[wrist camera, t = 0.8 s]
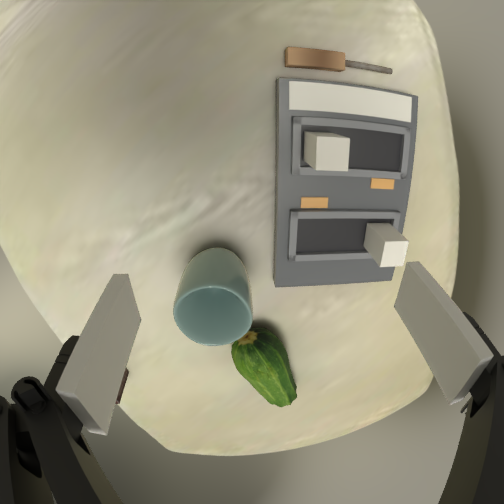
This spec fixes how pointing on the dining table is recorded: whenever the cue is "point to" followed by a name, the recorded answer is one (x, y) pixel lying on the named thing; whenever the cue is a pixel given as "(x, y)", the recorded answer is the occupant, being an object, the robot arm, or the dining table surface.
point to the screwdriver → (324, 60)
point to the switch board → (339, 179)
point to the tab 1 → (326, 151)
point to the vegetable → (265, 365)
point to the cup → (214, 298)
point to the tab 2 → (385, 244)
